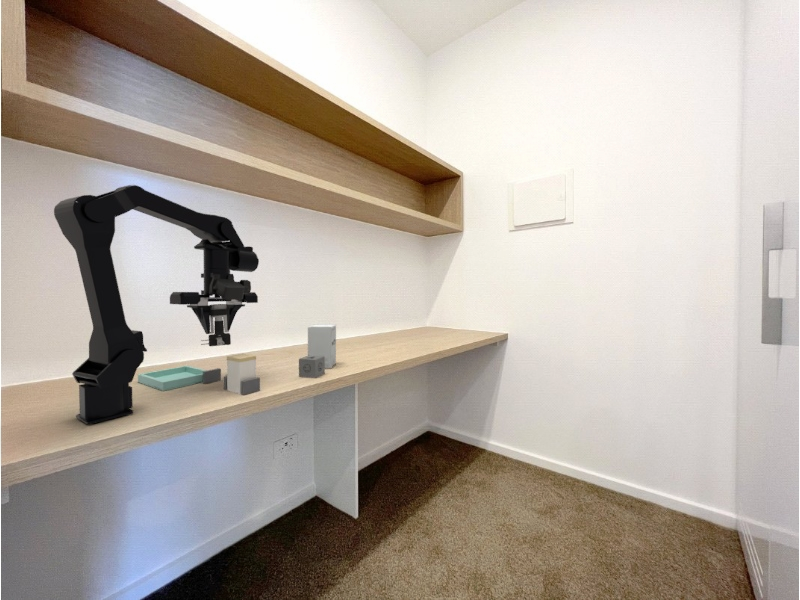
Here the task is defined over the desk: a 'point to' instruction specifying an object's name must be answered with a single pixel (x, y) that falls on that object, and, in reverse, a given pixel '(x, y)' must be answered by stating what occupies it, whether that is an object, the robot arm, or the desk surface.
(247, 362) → the white lidded container
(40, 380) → the desk surface
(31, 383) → the desk surface
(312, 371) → the dark grey cube
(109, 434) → the desk surface
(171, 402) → the desk surface
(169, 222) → the robot arm
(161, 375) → the tray
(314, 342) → the supplement box
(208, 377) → the set of grey blocks
